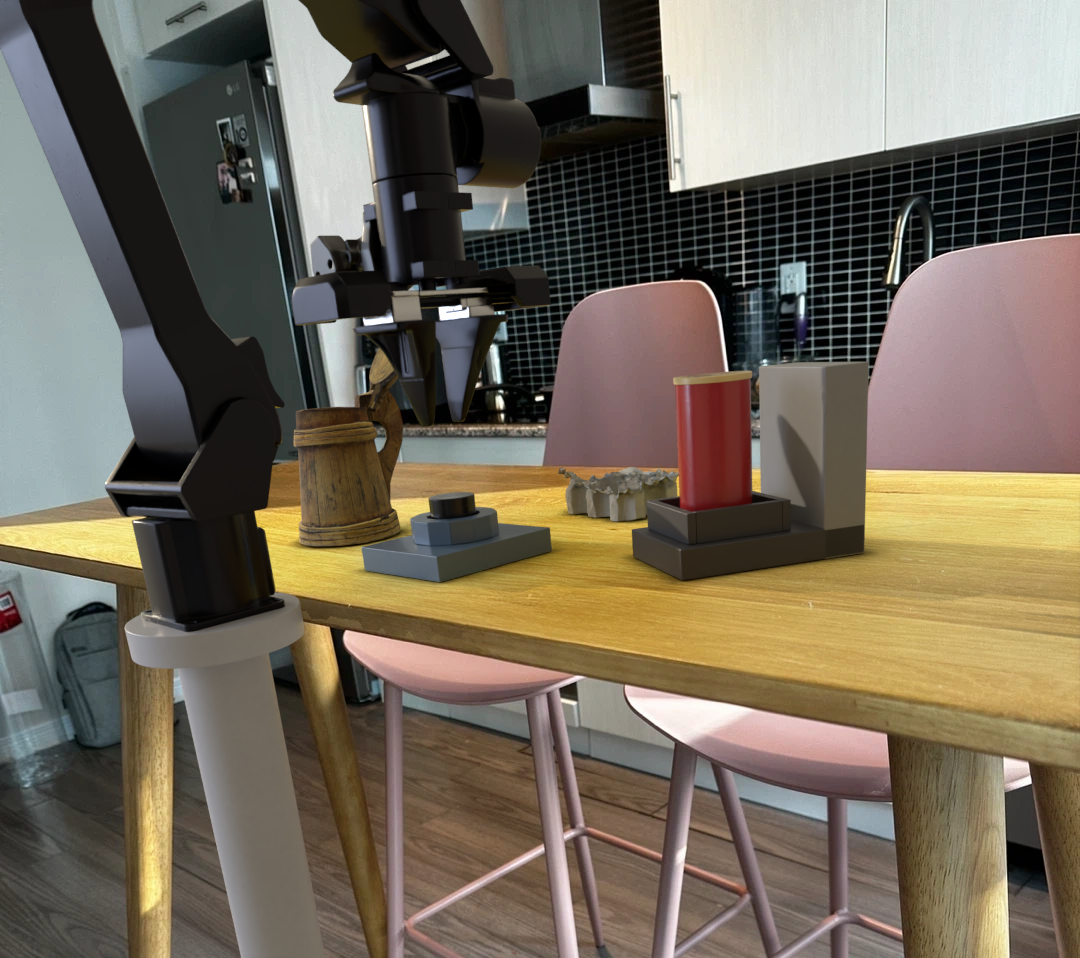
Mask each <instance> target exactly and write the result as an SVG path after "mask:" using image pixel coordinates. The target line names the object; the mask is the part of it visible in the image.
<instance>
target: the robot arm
mask: <svg viewBox="0 0 1080 958" xmlns="http://www.w3.org/2000/svg"><path fill="white" fill-rule="evenodd" d="M298 2H299V3H301V4H302V5H303V6H304V7H305V8H306V9H307V12H308V13H309V15H310V17H311V19H312V21H313V23H314V25H315V27H316V29H317V31H318V33H319V34H320V36H321V37H322V38H323V39H324V40H325V41H326V42H327V43H329V44H330V46H332V48H334V49H335V50H336V51H338V52H339V53H340V54H341V56H343V57H344V58H345V59H347V60H348V61H349V62H350V63H351V64H350V68H349V70H348V72H347V74H346V75H345V76H344V78H343V79H342V80H341V81H340V82H339V83H338V84H337V86H336V87H335V88H333V91H332V97H333V100H334V101H336V102H337V103H341V104H349V105H357V106H361V111H362V118H363V125H364V133H365V140H366V146H367V147H366V148H367V155H368V156H367V157H368V164H369V165H368V166H369V171H370V172H369V173H370V179H371V187H372V195H373V202H369V203H366V204H362V207H363V211H362V215H361V218H362V225H363V228H362V235H361V236H360V237H358V238H356V239H345V240H344V238H343V237H342V236H340V235H317V236H316V237H315V238H314V239H313V240H312V241H311V242H310V244H309V248H310V250H309V251H310V259H311V270H312V274H313V276H308V277H304V278H303V277H301V278H299V279H297V281H296V284H295V286H294V289H293V292H292V294H291V299H290V301H291V306H292V307H291V308H292V313H293V318H294V319H293V320H294V325H295V326H308V325H309V326H311V325H323V324H325V325H326V324H336V322H337V321H340V320H348V319H360V318H362V323H363V325H361V326H355V327H352V330H353V333H354V334H355V335H356V336H364V337H367V339H369V340H370V341H371V342H372V343H373V344H374V345H376V347H377V348H378V349H379V348H380V349H381V350H382V351H383V352H384V354H385V356H386V357H387V359H388V361H389V362H390V364H391V366H392V367H393V369H394V371H395V373H396V375H397V377H398V379H397V380H398V381H399V383H400V385H401V387H402V390H403V391H404V394H405V396H406V397H407V400H408V402H409V404H410V406H411V409H412V410H413V412H414V415H415V416H416V419H417V421H418V423H419V425H420V426H421V427H424V428H425V427H427V428H428V427H433V426H434V425H435V417H436V407H437V406H436V405H437V351H436V350H437V342H438V343H439V346H440V352H441V360H442V369H443V375H444V385H445V391H446V400H447V405H448V409H449V413H450V418H451V421H452V422H454V423H460V422H465V420H466V419H467V415H468V413H469V409H470V405H471V403H472V400H473V397H474V393H475V390H476V388H477V385H478V381H479V378H480V375H481V372H482V369H483V367H484V366H483V365H484V364H485V361H486V358H487V356H488V353H489V351H490V349H491V346H492V344H493V341H494V339H495V337H496V334H497V331H498V329H499V327H500V325H501V323H506V322H507V323H508V321H509V314H508V313H500V314H495V313H498V312H508V311H517V310H522V309H523V310H524V309H531V308H539V307H548V306H551V304H552V303H551V293H550V279H549V276H548V275H547V274H546V273H545V271H543V269H542V268H541V267H540V266H539V265H514V266H513V265H512V266H500V267H495V268H489V269H483V270H480V264H479V259H467V258H466V256H467V255H466V248H465V236H464V229H463V217H462V213H463V212H468V211H472V210H474V204H473V195H472V194H473V193H472V192H460V190H459V186H467V187H486V188H497V189H498V188H500V189H516V188H520V187H521V186H523V185H524V184H526V183H527V182H528V180H530V178H531V177H532V176H533V174H534V172H535V171H536V169H537V166H538V163H539V161H540V157H541V152H542V151H541V150H542V132H541V128H540V127H539V126H538V122H537V120H536V117H535V115H534V113H533V112H532V110H531V108H530V107H529V106H528V105H527V104H526V103H525V102H523V101H521V100H519V99H517V98H516V90H515V89H516V88H515V82H514V80H513V79H512V78H508V77H498V78H489V77H490V76H493V74H494V66H493V63H492V61H491V59H490V57H489V55H488V53H487V51H486V49H485V47H484V45H483V43H482V40H481V38H480V36H479V35H478V32H477V30H476V29H475V26H474V24H473V23H472V20H471V18H470V16H469V14H468V12H467V10H466V8H465V5H464V3H463V2H462V0H298ZM443 51H446V53H447V54H448V55H447V56H443V57H441V58H437V59H434V60H431V61H429V62H426V63H424V64H420V65H418V66H415V67H411V68H409V69H408V67H407V66H409V65H411V64H414V63H417V62H420V61H422V60H425V59H429V58H431V57H433V56H436V55H438V54H440V53H442V52H443ZM0 53H1V55H2V57H3V59H4V61H5V64H6V66H7V69H8V71H9V73H10V76H11V78H12V80H13V83H14V85H15V87H16V90H17V93H18V94H19V97H20V100H21V102H22V104H23V105H24V108H25V111H26V113H27V116H28V118H29V119H30V122H31V126H32V127H33V130H34V132H35V134H36V137H37V139H38V141H39V144H40V146H41V149H42V152H43V153H44V155H45V158H46V160H47V162H48V163H47V164H48V165H49V168H50V170H51V172H52V174H53V177H54V179H55V182H56V184H57V186H58V188H59V192H60V194H61V196H62V198H63V200H64V202H65V205H66V208H67V209H68V212H69V214H70V217H71V219H72V221H73V223H74V226H75V228H76V231H77V233H78V236H79V238H80V240H81V243H82V245H83V247H84V250H85V253H86V254H87V257H88V259H89V262H90V264H91V266H92V268H93V271H94V274H95V276H96V278H97V280H98V282H99V285H100V287H101V289H102V292H103V295H104V297H105V300H106V301H107V304H108V306H109V308H110V311H111V313H112V315H113V318H114V320H115V322H116V325H117V327H118V330H119V333H120V337H121V340H122V341H121V342H122V389H121V390H122V396H123V399H124V403H125V406H126V410H127V414H128V419H129V422H130V425H131V429H132V432H133V438H132V440H131V441H130V442H129V445H127V448H126V449H125V451H124V452H123V454H122V456H121V458H120V459H119V461H118V462H117V464H116V465H115V467H114V468H113V470H112V472H111V473H110V474H109V477H108V478H107V480H106V482H105V483H104V489H105V492H106V493H107V495H108V497H109V498H110V500H111V502H112V503H113V505H114V506H115V509H116V510H117V511H118V513H119V515H120V516H121V517H124V518H132V517H141V518H137V519H133V520H131V524H132V530H133V533H134V538H135V541H136V546H137V550H138V555H139V559H140V564H141V568H142V573H143V574H142V575H143V577H144V581H145V587H146V591H147V595H148V599H149V604H150V609H147V610H146V609H145V610H142V611H141V612H140V615H141V616H142V619H143V620H145V621H149V622H152V623H156V624H159V625H163V626H166V627H170V628H173V629H177V630H180V631H183V632H194V631H198V630H202V629H205V628H209V627H213V626H217V625H220V624H224V623H228V622H232V621H235V620H239V619H243V618H247V617H250V616H254V615H258V614H262V613H265V612H269V611H273V610H277V609H280V608H284V607H285V602H284V599H281V598H276V597H271V595H274V594H275V592H276V591H277V590H276V589H277V588H276V583H275V578H274V573H273V567H272V561H271V556H270V551H269V546H268V545H269V544H268V539H267V534H266V530H265V529H264V528H263V527H261V526H258V522H257V518H256V512H258V511H262V510H265V509H267V508H268V505H269V498H270V491H271V489H270V488H271V481H272V473H273V472H272V471H273V465H274V461H275V459H276V456H277V452H278V450H279V446H281V445H282V443H283V427H282V423H281V419H280V415H279V412H278V410H277V409H282V408H285V405H286V404H285V402H284V400H283V398H281V396H280V395H279V394H278V393H277V391H276V389H275V387H274V385H273V383H272V380H271V379H270V375H269V371H268V367H267V363H266V362H267V361H266V358H265V353H264V350H263V348H262V346H261V344H260V343H259V340H258V338H257V337H255V336H245V337H237V338H230V336H229V335H228V334H227V333H226V332H225V331H224V329H222V327H220V325H219V324H218V323H217V322H216V321H215V320H214V319H213V318H212V316H211V315H210V313H209V311H208V309H207V308H206V306H205V303H204V300H203V297H202V295H201V292H200V290H199V287H198V284H197V282H196V278H195V277H194V274H193V271H192V268H191V266H190V264H189V261H188V258H187V256H186V253H185V249H184V247H183V244H182V242H181V239H180V237H179V234H178V231H177V229H176V226H175V224H174V221H173V219H172V215H171V213H170V211H169V208H168V205H167V202H166V200H165V198H164V195H163V192H162V189H161V187H160V185H159V181H158V179H157V177H156V174H155V171H154V169H153V166H152V163H151V161H150V159H149V156H148V153H147V151H146V148H145V145H144V143H143V139H142V138H141V135H140V132H139V129H138V127H137V124H136V122H135V118H134V117H133V114H132V113H133V112H132V111H131V109H130V108H131V107H130V105H129V103H128V101H127V98H126V95H125V92H124V90H123V87H122V85H121V82H120V80H119V77H118V74H117V71H116V69H115V67H114V64H113V61H112V59H111V55H110V54H109V50H108V48H107V45H106V42H105V39H104V37H103V35H102V32H101V30H100V26H99V24H98V21H97V18H96V13H95V8H94V0H0ZM414 286H417V287H418V289H413V290H411V288H413V287H414ZM443 287H445V289H437V288H443ZM436 308H437V311H438V320H436V318H429V319H423V315H422V309H436Z"/></svg>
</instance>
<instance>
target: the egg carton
mask: <svg viewBox="0 0 1080 958" xmlns="http://www.w3.org/2000/svg"><path fill="white" fill-rule="evenodd" d="M557 474H558V475H562V476H563V477H564V478H565V479H570V480H569V484H568V485H567V487H566V489H565V496H564V497H565V503H566V509H567V512H568V514H570V515H580V514H587V516H588V518H606V517H609V518H610V521H611V522H612V521H613V522H625V521H636V520H640V519H646V516H647V500H655V499H662V498H670V497H677V496H678V483H677V478H679V471H677V472H676V471H674V470H671V471H670V472H668V471H666V470H662V469H660V468H658V469H657V470H656V471H652V470H649V471H648V470H647V471H643V470H641V469H639V468H638V467H635V466H629V467H626V468H623V469H622V470H619V471H611V472H609V473H608V472H605V473H604V476H602V477H599V478H598V477H596V476H595V474H592V475H591V476H590V477H589V479H588V480H587V479H584V478H581V477H580V476H578V475H577V474H576V473H575V472H573V471H567V469H566V468H564V467H559V468H558V473H557Z"/></svg>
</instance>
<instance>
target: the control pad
mask: <svg viewBox="0 0 1080 958" xmlns="http://www.w3.org/2000/svg"><path fill="white" fill-rule="evenodd" d="M476 514H477V515H473V516H468V517H463V518H455V519H438V520H436V519H431V516H430V511H427V512H423V513H419V514H416V515H414V516H412V517H410V518H409V520H410V521H409V522H410V529H411V535H405V536H403V537H398V538H394V539H390V540H386V541H381V542H376V543H373V544H368V545H364V546H361V554H362V555H361V556H362V559H363V561H362V562H363V567H364V571H366V572H372V573H377V574H384V575H389V576H390V575H392V576H397V577H404V578H410V579H417V580H422V581H423V580H424V581H430V582H437V583H443V582H446V581H451V580H453V579H456V578H461V577H464V576H468V575H471V574H474V573H479V572H482V571H485V570H490V569H492V568H496V567H500V566H503V565H504V566H505V565H507V564H511V563H514V562H518V561H522V560H524V559H529V558H531V557H532V558H533V557H535V556H539V555H542V554H546V553H551V552H553V547H552V546H553V545H552V535H551V527H549V526H548V527H547V526H537V525H524V524H513V523H503V522H499V517H498V510H496V509H495V508H493V507H488V506H487V507H485V506H476Z"/></svg>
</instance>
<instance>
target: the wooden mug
mask: <svg viewBox="0 0 1080 958" xmlns="http://www.w3.org/2000/svg"><path fill="white" fill-rule="evenodd" d="M368 375H369V377H368V379H369V389H368V392H364V393H360V394H357V395H355V398H354V406H328V407H315V408H307V409H299V410H296V411H295V424H296V428H295V429H294V430H293V447H294V448H295V449H297V455H298V457H297V458H298V473H299V495H300V512H301V513H300V517H301V519H300V521H299V522H298V543H300V544H302V545H303V546H308V547H325V548H327V547H344V546H351V545H358V544H365V543H370V542H375V541H380V540H385V539H388V538H391V537H393V536H395V535H397V534H399V532H401V528H402V527H401V524H400V519H399V515H398V511H397V510H396V509H395V508H393V507H392V502H391V482H392V478H393V475H394V471H395V468H396V465H397V463H398V462H397V461H398V459H399V456H400V452H401V448H402V444H403V437H404V424H403V418H402V414H401V410H400V408H399V405H398V403H397V401H396V399H395V398H394V396H393V395H392V393H391V391H390V389H391V388H392V386H393V385H394V384H395V383H396V382H397V380H399V379H398V377H397V375H396V373H395V371H394V369H393V367H392V366H391V364H390V362H389V361H388V359H387V357H386V356H385V354H384V352H383V351H382V350H381V349H380V348H379V347H378V349H377V351H376V353H375V355H374V358H373V360H372V363H371V365H370V370H369V374H368ZM373 422H376V423H377V422H378V423H379V424H380V425H381V427H383V429H384V433H385V441H384V443H383V446H382V448H381V449H380V450H379V451H378V449H377V445H376V438H377V437H378V431H377V429H376V428H375V425H374V424H373Z"/></svg>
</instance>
